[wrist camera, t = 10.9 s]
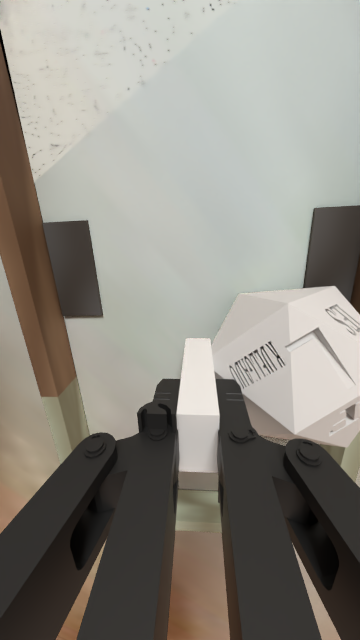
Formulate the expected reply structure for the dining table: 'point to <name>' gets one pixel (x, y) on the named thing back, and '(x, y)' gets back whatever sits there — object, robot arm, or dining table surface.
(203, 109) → the dining table surface
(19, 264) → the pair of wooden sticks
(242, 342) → the die
